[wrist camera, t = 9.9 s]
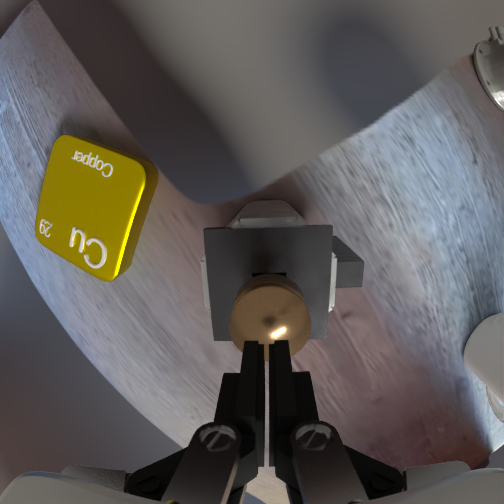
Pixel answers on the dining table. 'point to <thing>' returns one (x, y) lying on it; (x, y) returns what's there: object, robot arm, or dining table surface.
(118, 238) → the element tile
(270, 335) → the plunger
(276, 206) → the grey faceted container
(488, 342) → the coffeepot
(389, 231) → the dining table surface
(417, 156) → the dining table surface
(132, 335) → the dining table surface
